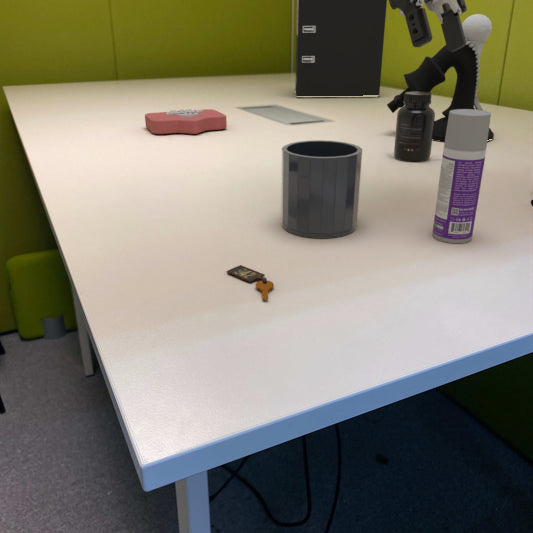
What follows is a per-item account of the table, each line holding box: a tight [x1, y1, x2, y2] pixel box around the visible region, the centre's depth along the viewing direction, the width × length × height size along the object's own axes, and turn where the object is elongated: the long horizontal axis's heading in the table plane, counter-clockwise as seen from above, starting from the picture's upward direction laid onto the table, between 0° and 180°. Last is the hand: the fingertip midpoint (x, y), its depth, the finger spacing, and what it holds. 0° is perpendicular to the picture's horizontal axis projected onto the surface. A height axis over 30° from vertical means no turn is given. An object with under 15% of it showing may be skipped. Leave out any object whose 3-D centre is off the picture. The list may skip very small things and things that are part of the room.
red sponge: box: [144, 108, 228, 135], centre depth 131 cm, size 18×4×15 cm
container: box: [432, 109, 492, 244], centre depth 65 cm, size 5×5×15 cm
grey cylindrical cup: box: [280, 139, 363, 239], centre depth 70 cm, size 10×10×10 cm
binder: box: [294, 0, 388, 97], centre depth 179 cm, size 27×15×32 cm, turn 89°
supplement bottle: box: [393, 91, 436, 163], centre depth 102 cm, size 7×7×12 cm
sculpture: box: [386, 13, 495, 142], centre depth 118 cm, size 15×24×25 cm, turn 82°
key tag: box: [226, 264, 275, 302], centre depth 56 cm, size 8×3×1 cm, turn 32°
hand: (441, 46), depth 66 cm, fingers open, 8 cm apart
